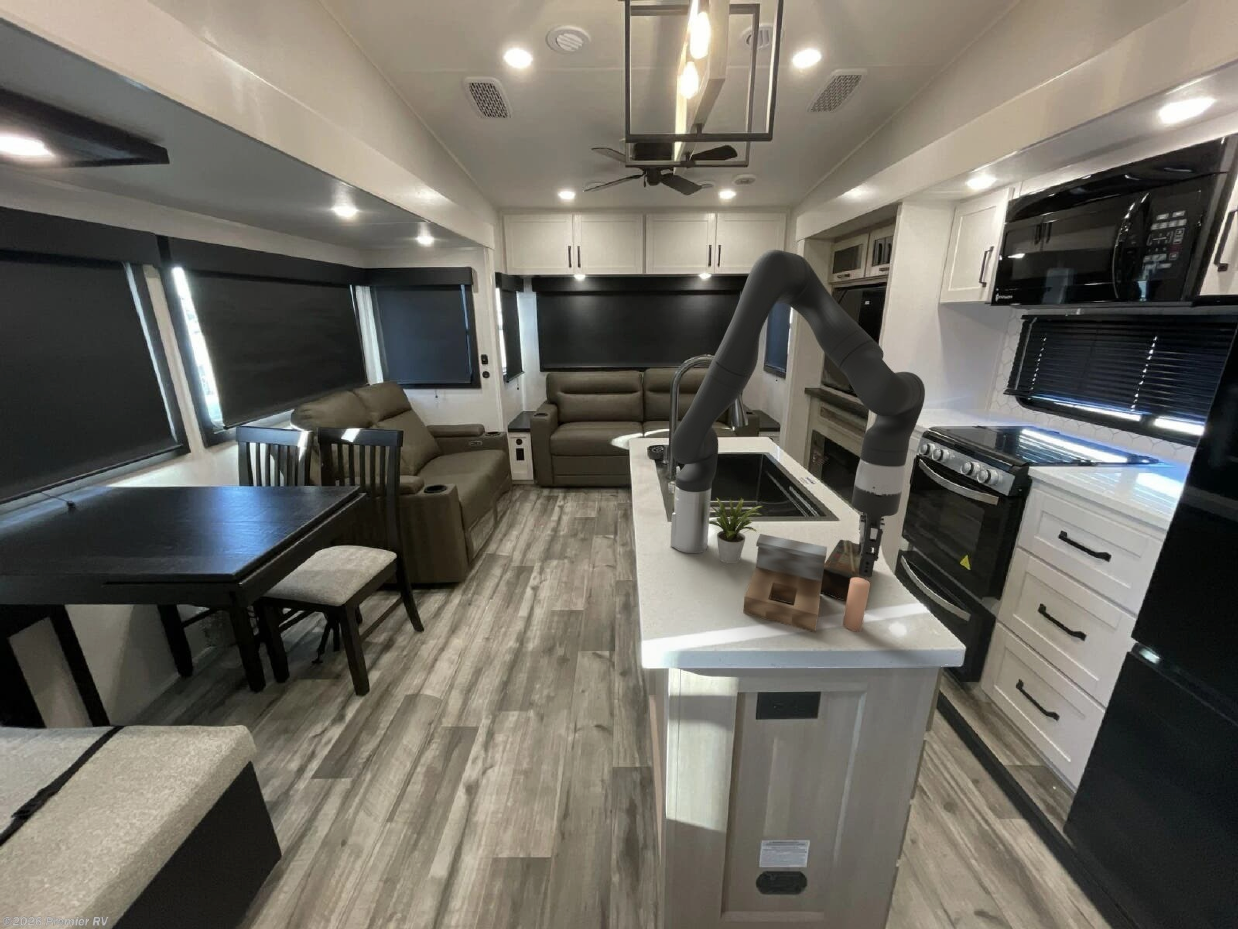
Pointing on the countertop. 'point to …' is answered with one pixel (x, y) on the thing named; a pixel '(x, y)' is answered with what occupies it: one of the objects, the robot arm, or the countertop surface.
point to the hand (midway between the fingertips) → (864, 564)
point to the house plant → (732, 531)
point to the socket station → (786, 582)
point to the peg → (856, 603)
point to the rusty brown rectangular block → (841, 569)
